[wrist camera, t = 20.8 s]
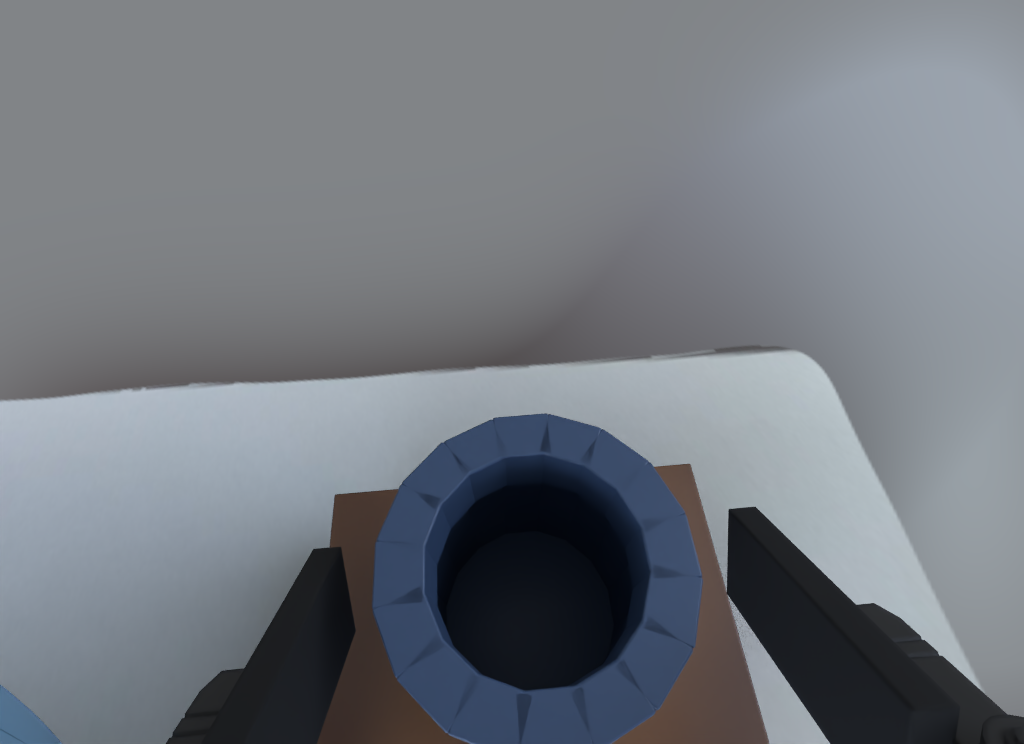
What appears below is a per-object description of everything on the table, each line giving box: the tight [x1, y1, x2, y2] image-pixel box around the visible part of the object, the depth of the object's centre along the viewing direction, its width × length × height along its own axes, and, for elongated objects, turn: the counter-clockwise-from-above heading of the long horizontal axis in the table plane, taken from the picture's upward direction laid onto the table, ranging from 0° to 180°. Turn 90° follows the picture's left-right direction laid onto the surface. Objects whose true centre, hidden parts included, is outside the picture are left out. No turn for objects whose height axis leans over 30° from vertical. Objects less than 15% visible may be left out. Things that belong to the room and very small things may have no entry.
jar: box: [372, 414, 703, 744], centre depth 17 cm, size 8×8×11 cm
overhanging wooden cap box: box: [317, 464, 769, 744], centre depth 24 cm, size 17×12×6 cm
